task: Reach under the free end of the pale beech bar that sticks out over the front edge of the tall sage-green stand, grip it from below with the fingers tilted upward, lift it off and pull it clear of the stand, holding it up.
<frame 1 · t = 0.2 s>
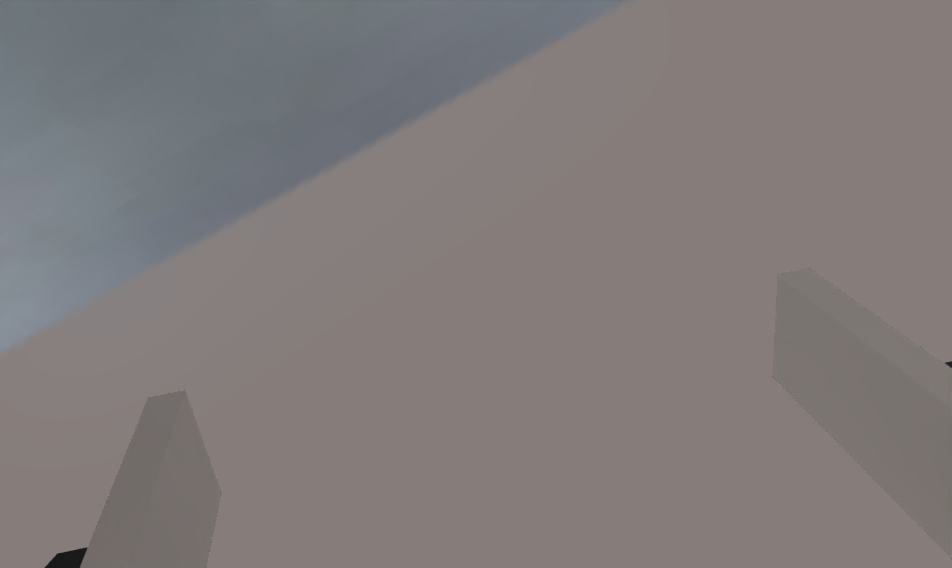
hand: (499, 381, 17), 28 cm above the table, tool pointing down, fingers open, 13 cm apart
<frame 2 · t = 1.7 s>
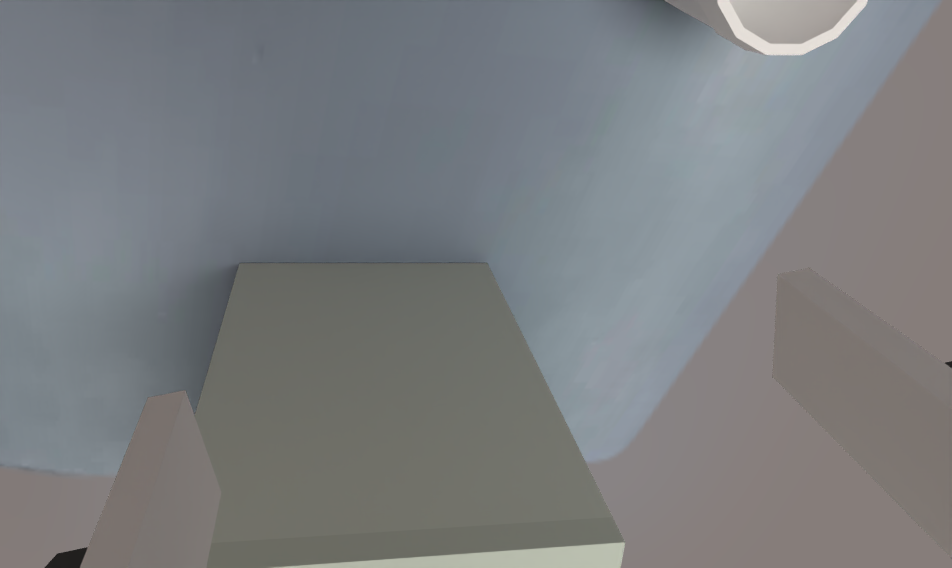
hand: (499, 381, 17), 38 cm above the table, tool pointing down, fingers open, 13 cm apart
stand: (366, 347, 59), on the table
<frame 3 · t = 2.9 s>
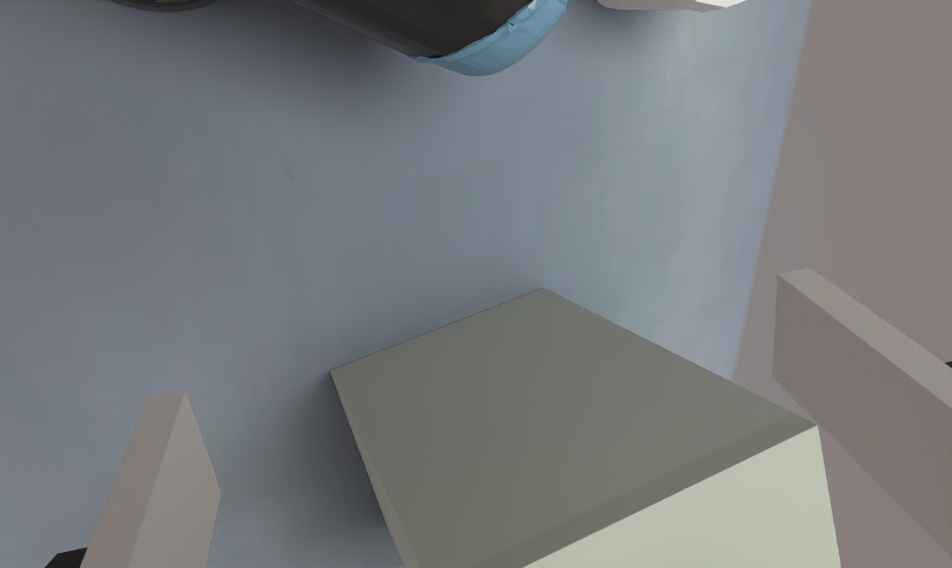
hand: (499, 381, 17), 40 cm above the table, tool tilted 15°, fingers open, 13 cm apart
stand: (465, 406, 61), on the table
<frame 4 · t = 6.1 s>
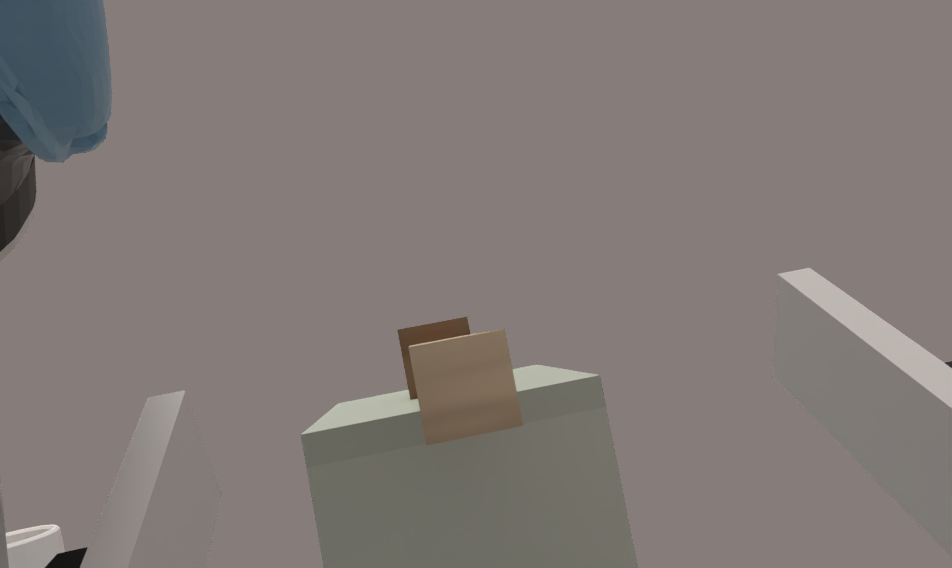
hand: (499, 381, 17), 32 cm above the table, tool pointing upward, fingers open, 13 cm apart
beech bar: (453, 404, 35), point 30 cm above the table, touching stand
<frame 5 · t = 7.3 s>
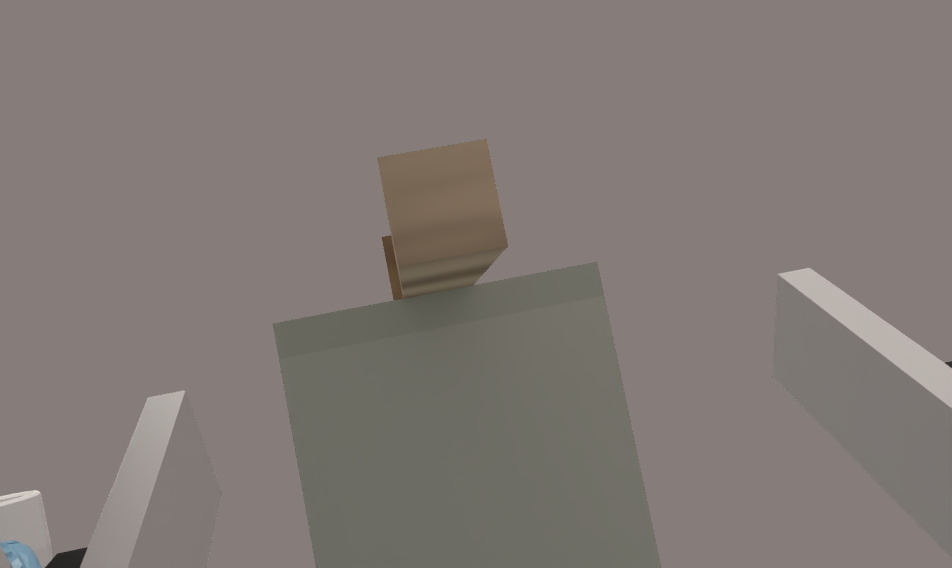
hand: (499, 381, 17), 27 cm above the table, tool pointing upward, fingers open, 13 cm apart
beech bar: (438, 292, 32), point 30 cm above the table, touching stand
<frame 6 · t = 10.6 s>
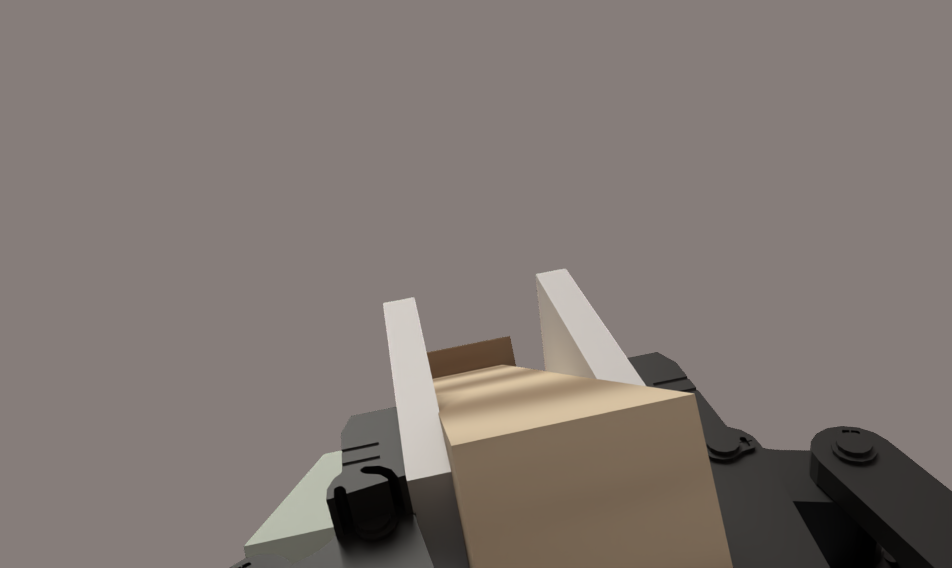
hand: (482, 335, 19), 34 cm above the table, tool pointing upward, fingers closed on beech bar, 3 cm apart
beech bar: (504, 489, 21), point 30 cm above the table, touching gripper
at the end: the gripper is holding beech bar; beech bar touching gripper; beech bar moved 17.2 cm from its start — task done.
